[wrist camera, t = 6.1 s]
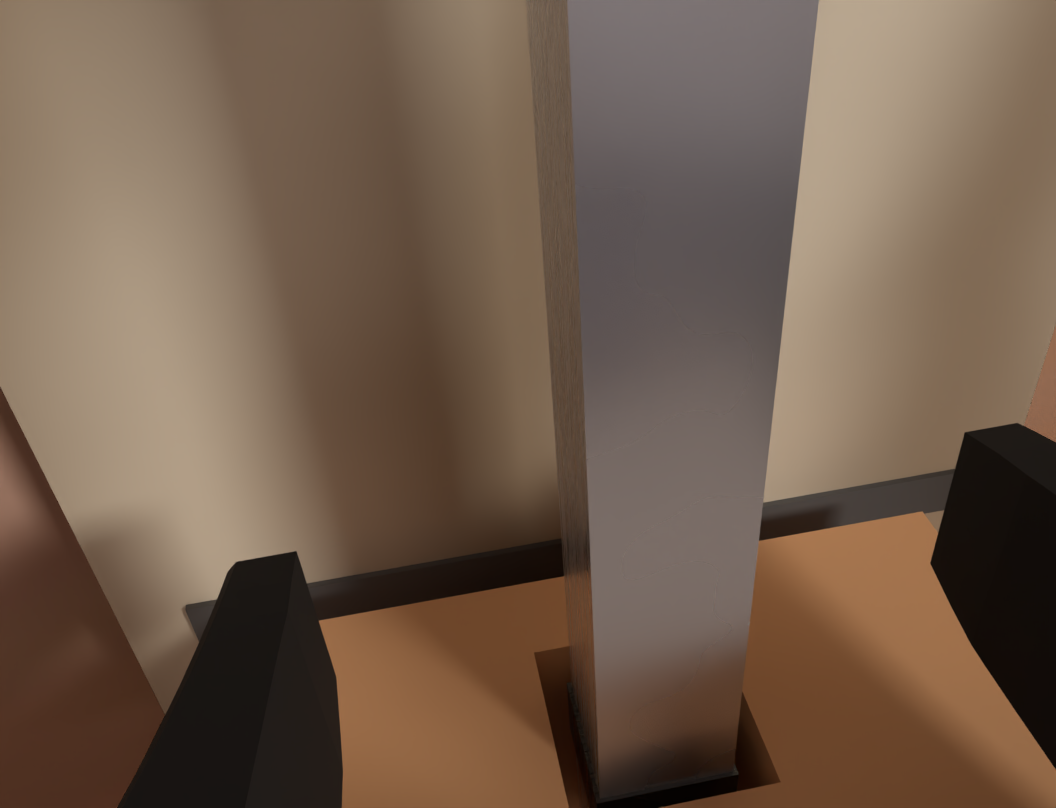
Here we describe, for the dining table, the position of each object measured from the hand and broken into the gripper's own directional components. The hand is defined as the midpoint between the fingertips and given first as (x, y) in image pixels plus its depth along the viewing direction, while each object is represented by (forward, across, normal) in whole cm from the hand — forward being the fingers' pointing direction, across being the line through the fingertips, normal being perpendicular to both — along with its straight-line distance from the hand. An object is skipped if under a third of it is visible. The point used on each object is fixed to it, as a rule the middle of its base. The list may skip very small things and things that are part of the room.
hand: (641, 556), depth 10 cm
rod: (+1, 0, -2) cm, 2 cm away
